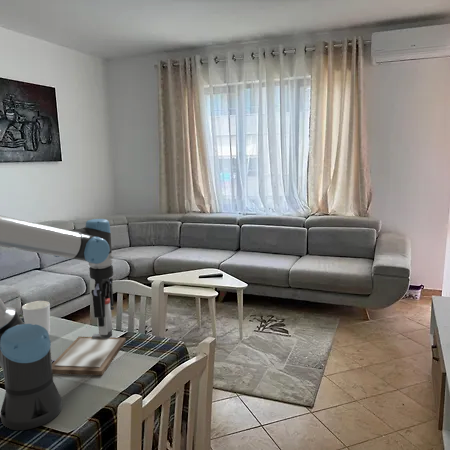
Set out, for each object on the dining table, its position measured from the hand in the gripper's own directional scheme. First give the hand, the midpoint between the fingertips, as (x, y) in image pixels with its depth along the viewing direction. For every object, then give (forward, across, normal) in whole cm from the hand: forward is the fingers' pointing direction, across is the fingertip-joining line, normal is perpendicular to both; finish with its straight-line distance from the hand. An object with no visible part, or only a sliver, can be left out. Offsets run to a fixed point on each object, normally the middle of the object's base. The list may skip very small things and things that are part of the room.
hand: (105, 331), depth 143 cm
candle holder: (+9, +16, +33) cm, 38 cm away
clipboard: (+9, 0, +6) cm, 11 cm away
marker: (+2, 0, 0) cm, 2 cm away
